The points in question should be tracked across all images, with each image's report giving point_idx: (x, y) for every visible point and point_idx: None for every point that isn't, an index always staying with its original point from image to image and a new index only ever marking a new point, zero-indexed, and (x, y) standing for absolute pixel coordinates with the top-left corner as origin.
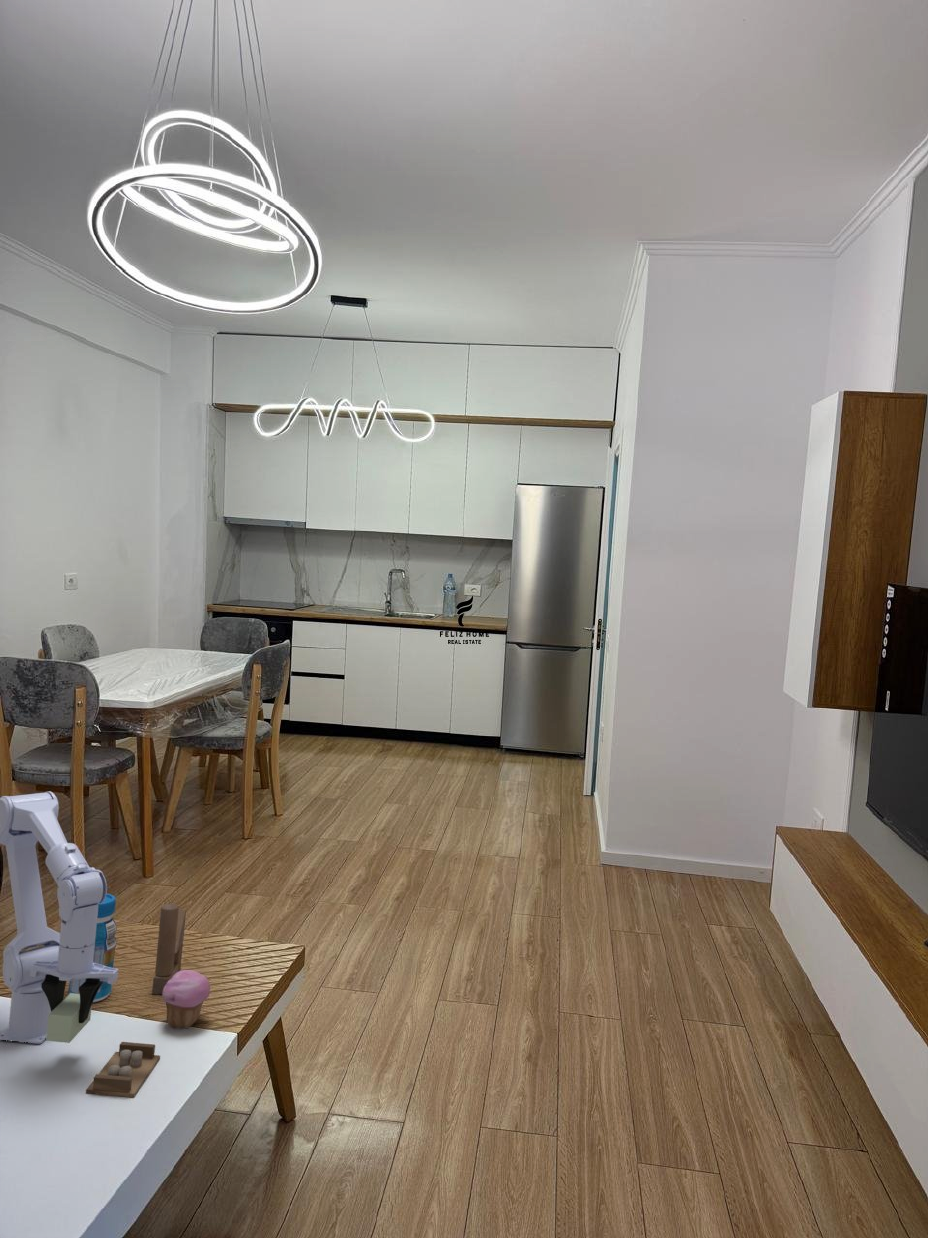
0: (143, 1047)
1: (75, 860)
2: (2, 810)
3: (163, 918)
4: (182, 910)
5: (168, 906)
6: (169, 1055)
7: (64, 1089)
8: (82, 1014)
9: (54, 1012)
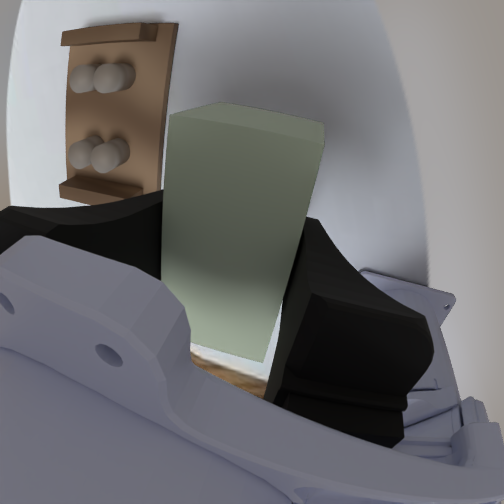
0: (77, 187)
1: None
2: None
3: None
4: None
5: None
6: (63, 200)
7: (239, 38)
8: (155, 192)
9: (292, 169)
